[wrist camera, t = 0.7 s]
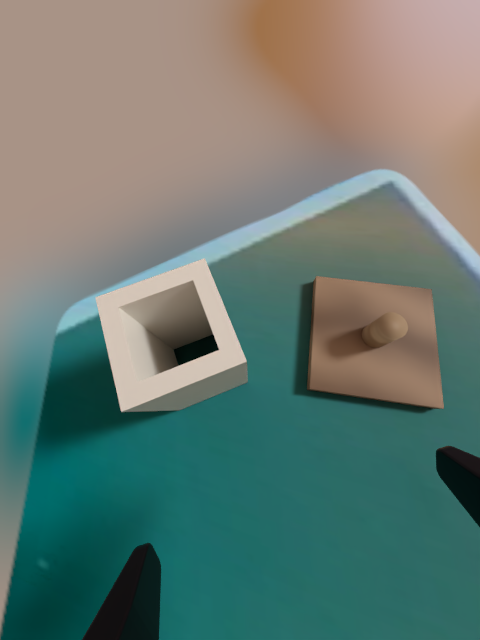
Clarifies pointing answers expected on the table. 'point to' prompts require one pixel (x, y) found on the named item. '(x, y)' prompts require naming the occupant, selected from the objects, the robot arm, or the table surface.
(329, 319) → the post stand
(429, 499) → the table surface
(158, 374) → the sleeve
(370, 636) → the table surface
